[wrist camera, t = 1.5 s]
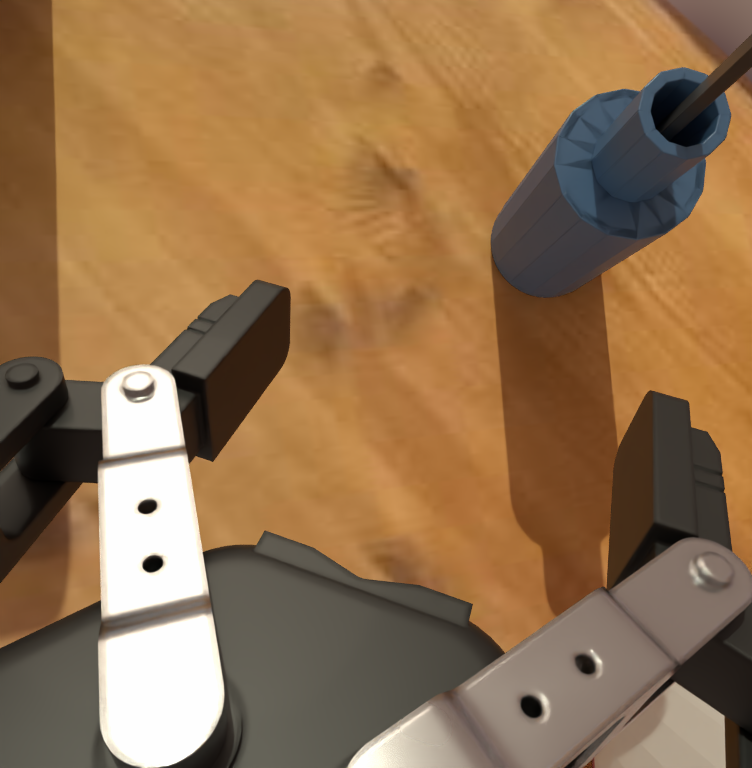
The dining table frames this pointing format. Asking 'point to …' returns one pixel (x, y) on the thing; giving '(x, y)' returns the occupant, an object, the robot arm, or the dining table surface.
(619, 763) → the citrus juicer
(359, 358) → the dining table surface
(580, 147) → the bottle
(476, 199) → the dining table surface
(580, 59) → the dining table surface
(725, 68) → the spoon
